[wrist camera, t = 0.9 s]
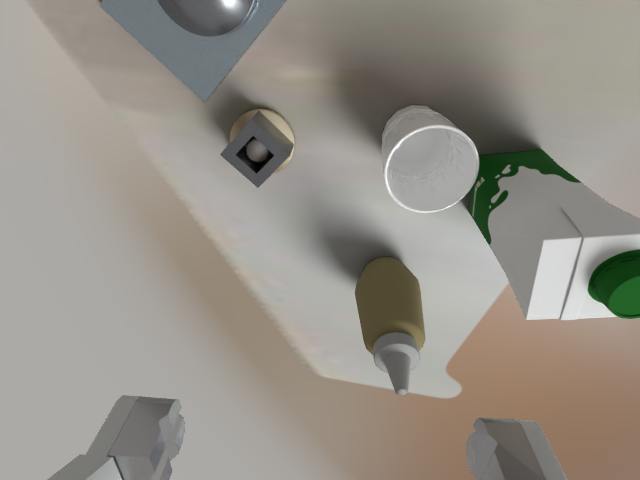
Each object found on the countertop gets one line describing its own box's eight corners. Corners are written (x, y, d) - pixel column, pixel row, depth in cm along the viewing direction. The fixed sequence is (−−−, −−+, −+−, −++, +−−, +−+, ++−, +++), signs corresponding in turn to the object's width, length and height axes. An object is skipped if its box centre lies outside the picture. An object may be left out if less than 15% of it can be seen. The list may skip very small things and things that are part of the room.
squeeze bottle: (383, 237, 47) (401, 348, 32) (428, 271, 50) (465, 389, 34) (341, 276, 51) (340, 392, 36) (385, 306, 53) (401, 427, 38)
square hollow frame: (258, 110, 39) (251, 119, 36) (294, 144, 41) (290, 155, 38) (229, 143, 41) (220, 154, 38) (264, 174, 43) (258, 187, 40)
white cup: (362, 150, 42) (366, 187, 33) (403, 83, 38) (420, 106, 29) (421, 183, 43) (439, 226, 35) (466, 122, 39) (500, 154, 31)
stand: (259, 93, 39) (252, 101, 36) (308, 141, 41) (305, 152, 38) (219, 140, 42) (209, 150, 39) (266, 182, 44) (261, 195, 41)
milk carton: (538, 213, 44) (657, 341, 27) (458, 219, 45) (525, 346, 28) (552, 139, 40) (706, 239, 23) (464, 148, 41) (548, 249, 24)
